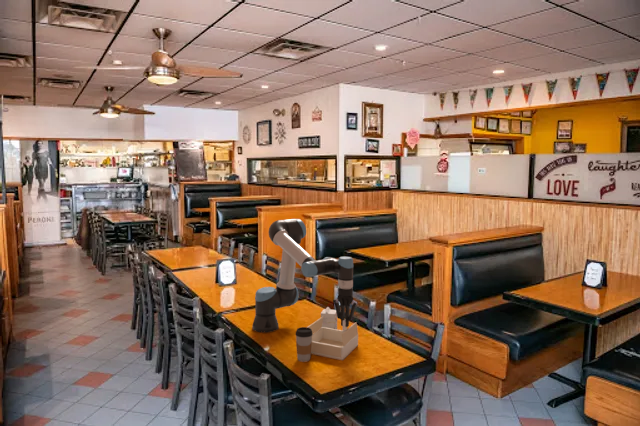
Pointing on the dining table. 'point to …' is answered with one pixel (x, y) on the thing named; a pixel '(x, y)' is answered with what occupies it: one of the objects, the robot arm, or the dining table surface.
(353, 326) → the flap
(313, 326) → the flap
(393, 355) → the dining table surface
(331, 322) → the tissue box
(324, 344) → the carton
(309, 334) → the coffee cup
